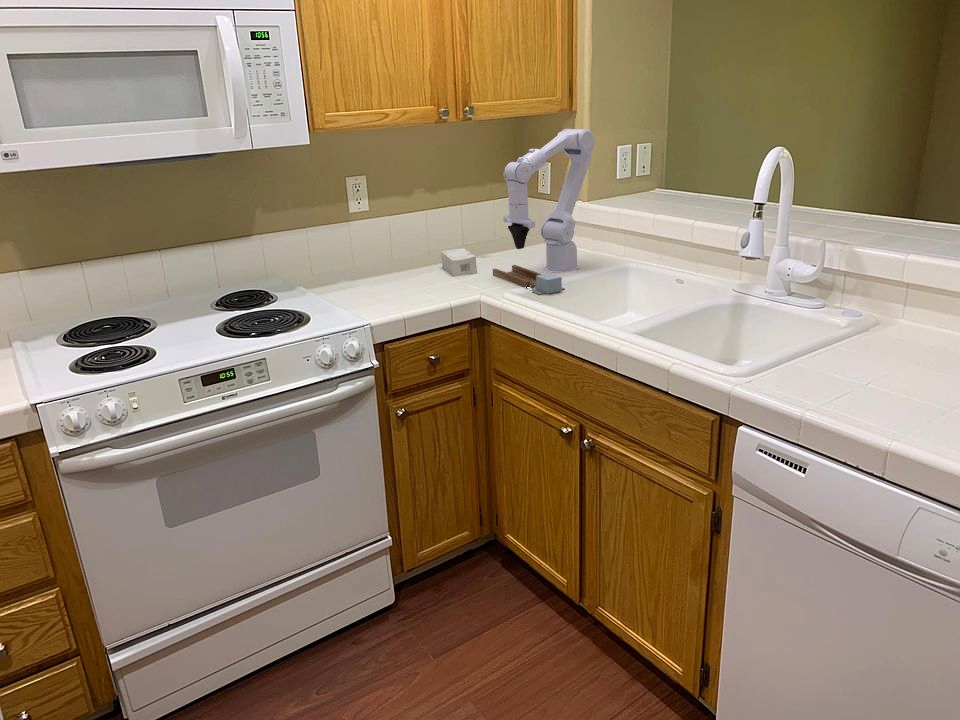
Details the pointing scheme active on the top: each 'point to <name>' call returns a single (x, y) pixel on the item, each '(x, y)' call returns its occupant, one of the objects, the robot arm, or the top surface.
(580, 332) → the top surface
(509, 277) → the chute
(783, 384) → the top surface
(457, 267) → the skincare box
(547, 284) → the block
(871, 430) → the top surface
